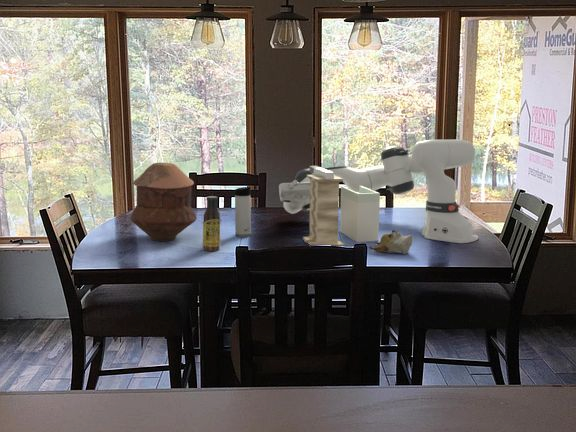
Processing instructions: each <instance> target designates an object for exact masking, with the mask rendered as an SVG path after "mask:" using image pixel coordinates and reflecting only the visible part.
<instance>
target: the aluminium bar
mask: <svg viewBox="0 0 576 432" xmlns="http://www.w3.org/2000/svg"><path fill="white" fill-rule="evenodd" d="M324 168H325V167H321V166H319V165H309V168H308V169H309V172H311V173H313V174H315V175H318V176H320V177H322V178H324V179H334V172H331V171H329V170H326V169H324Z"/></svg>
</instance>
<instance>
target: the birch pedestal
mask: <svg viewBox="0 0 576 432" xmlns="http://www.w3.org/2000/svg"><path fill="white" fill-rule="evenodd" d="M307 178H309V179H310V211H309V235H308V236H302V240H304V242H305V244H307V243H308V244H310V245H331V246H345V247H346V244H345V243H343V242H342V241H341V240H339V213H340V212H339V209H340V207H339V206H340V203H339V201H340V196H339V195H340V183H341V182H343V179H342V178H340V177H337V176H335V175H334V179H324V178H322V177H320V176H318V175H307ZM308 244H307V245H308ZM310 245H309V246H310Z"/></svg>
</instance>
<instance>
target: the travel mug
mask: <svg viewBox="0 0 576 432" xmlns="http://www.w3.org/2000/svg"><path fill="white" fill-rule="evenodd" d="M251 190H252V186H245V187H238V188H235V189H234V215H235V216H234V221H235V222H234V224H235V227H234V228H235V229H234V232H235V236H236V237H237V238H248V237H251V235H252V230H251V229H252V221H251V219H252V217H251V213H252V212H251V211H252V210H251V207H252V204H251V203H252V201H251V200H252V199H251Z"/></svg>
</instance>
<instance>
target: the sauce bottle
mask: <svg viewBox="0 0 576 432" xmlns="http://www.w3.org/2000/svg"><path fill="white" fill-rule="evenodd" d="M205 200H206V210H205V212H204V214H203V222H202V230H203V231H202V249H203V250H204V251H208V252H217V251H219V250H220V245H221V215H220V212H219V210H218V209H219V208H218V196H214V195H210V196H206V199H205Z"/></svg>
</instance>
